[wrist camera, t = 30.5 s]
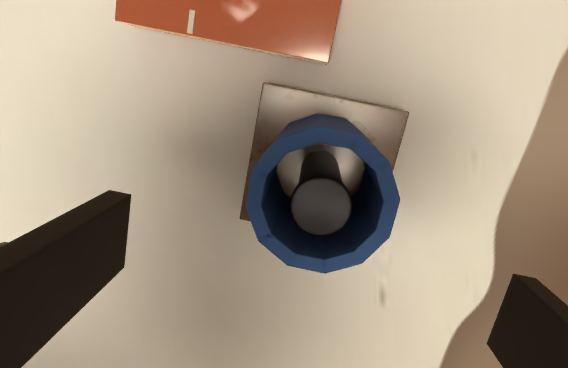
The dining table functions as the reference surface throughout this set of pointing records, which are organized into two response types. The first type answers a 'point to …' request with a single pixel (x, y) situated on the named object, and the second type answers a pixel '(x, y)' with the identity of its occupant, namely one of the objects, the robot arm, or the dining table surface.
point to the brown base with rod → (321, 153)
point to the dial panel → (243, 23)
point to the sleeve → (365, 202)
